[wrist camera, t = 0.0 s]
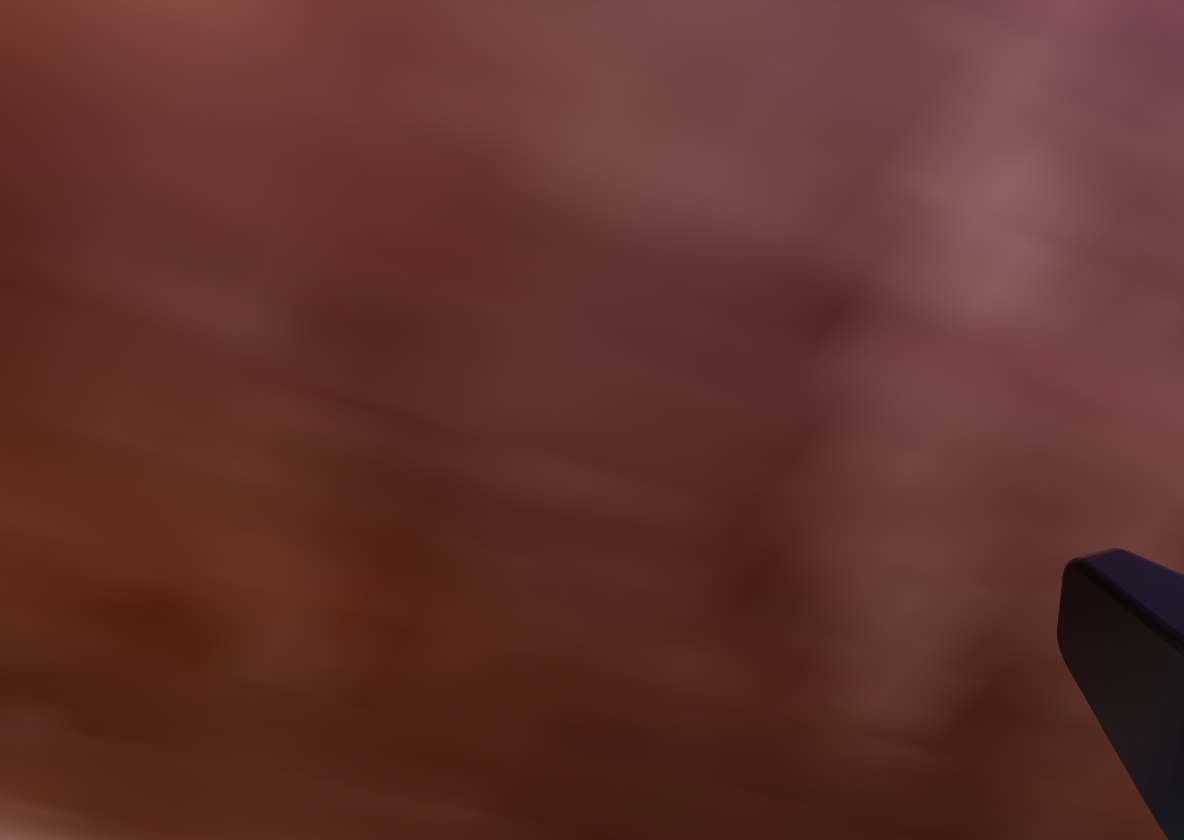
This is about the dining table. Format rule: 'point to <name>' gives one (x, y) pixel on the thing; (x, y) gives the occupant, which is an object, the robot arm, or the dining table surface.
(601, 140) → the dining table surface
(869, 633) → the dining table surface
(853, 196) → the dining table surface
